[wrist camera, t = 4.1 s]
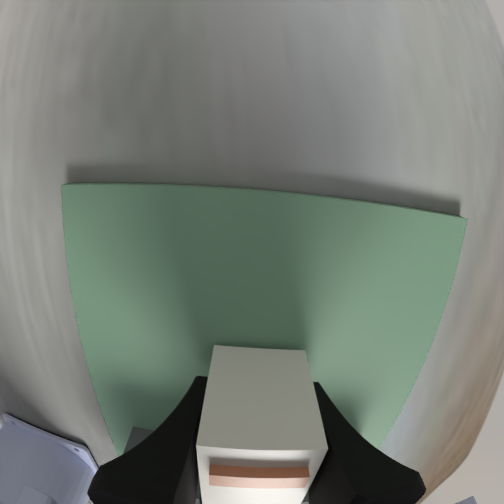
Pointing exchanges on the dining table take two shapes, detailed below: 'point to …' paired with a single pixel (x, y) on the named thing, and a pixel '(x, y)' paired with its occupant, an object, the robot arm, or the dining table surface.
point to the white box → (259, 428)
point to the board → (253, 292)
